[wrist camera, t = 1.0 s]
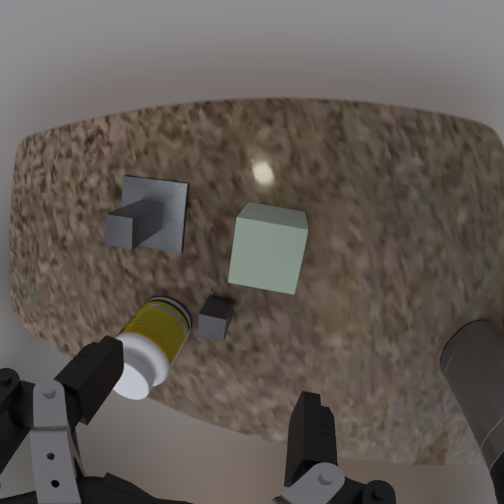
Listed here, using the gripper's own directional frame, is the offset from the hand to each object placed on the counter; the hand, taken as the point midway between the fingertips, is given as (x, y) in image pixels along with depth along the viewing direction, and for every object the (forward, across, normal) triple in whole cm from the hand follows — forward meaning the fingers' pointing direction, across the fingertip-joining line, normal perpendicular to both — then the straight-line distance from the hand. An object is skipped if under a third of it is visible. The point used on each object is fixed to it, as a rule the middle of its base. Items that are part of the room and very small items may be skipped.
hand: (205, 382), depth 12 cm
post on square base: (+19, +11, -1) cm, 22 cm away
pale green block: (+19, -1, -2) cm, 19 cm away
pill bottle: (+19, +8, +11) cm, 23 cm away
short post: (+19, +2, +8) cm, 20 cm away
